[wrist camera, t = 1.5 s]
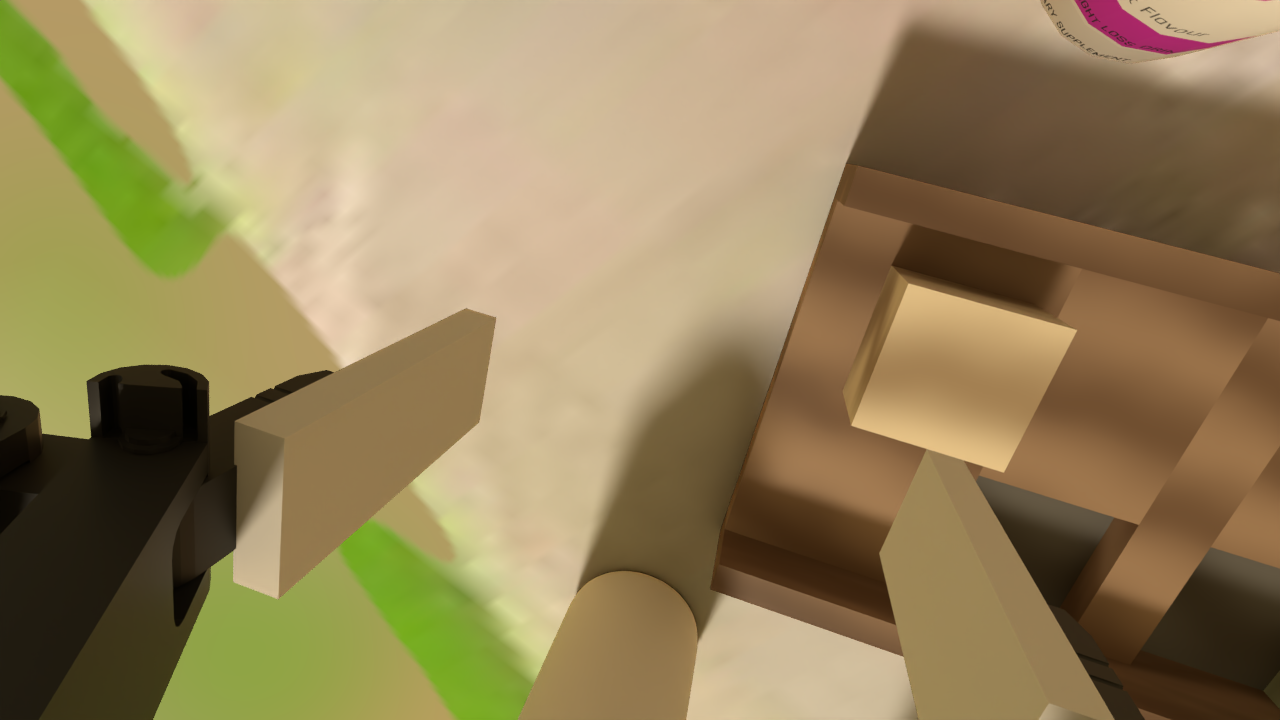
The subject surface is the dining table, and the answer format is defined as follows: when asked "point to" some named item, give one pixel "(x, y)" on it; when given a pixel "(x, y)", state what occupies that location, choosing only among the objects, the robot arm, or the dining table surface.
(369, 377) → the robot arm
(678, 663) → the pill bottle
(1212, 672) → the divided wooden tray
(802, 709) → the dining table surface
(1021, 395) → the block
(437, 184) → the dining table surface
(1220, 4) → the supplement can
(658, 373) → the dining table surface
